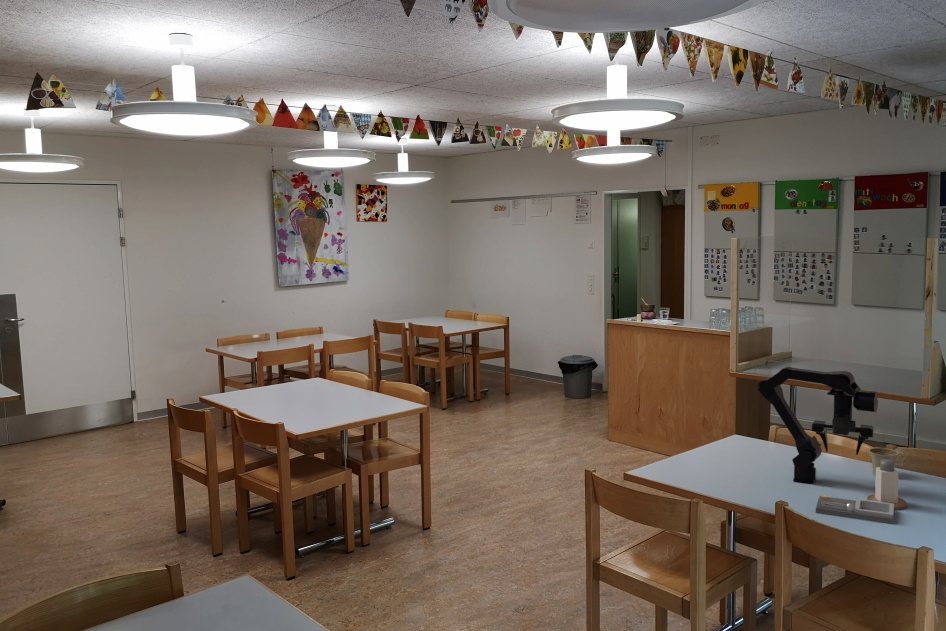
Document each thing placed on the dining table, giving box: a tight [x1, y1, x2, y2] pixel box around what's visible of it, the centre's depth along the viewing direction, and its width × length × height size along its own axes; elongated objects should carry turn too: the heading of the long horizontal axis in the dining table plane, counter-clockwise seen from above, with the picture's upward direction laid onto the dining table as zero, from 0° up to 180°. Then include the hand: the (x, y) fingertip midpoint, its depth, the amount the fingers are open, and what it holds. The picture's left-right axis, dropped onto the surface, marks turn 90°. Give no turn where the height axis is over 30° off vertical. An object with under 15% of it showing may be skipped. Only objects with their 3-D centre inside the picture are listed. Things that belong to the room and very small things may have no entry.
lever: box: [817, 499, 853, 512], centre depth 232 cm, size 10×2×4 cm, turn 59°
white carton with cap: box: [874, 459, 900, 503], centre depth 239 cm, size 5×5×13 cm
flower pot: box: [868, 447, 900, 476], centre depth 267 cm, size 9×9×9 cm
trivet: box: [866, 493, 907, 511], centre depth 240 cm, size 11×11×1 cm
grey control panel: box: [815, 494, 895, 525], centre depth 234 cm, size 21×12×3 cm, turn 59°
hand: (841, 453), depth 255 cm, fingers open, 9 cm apart
